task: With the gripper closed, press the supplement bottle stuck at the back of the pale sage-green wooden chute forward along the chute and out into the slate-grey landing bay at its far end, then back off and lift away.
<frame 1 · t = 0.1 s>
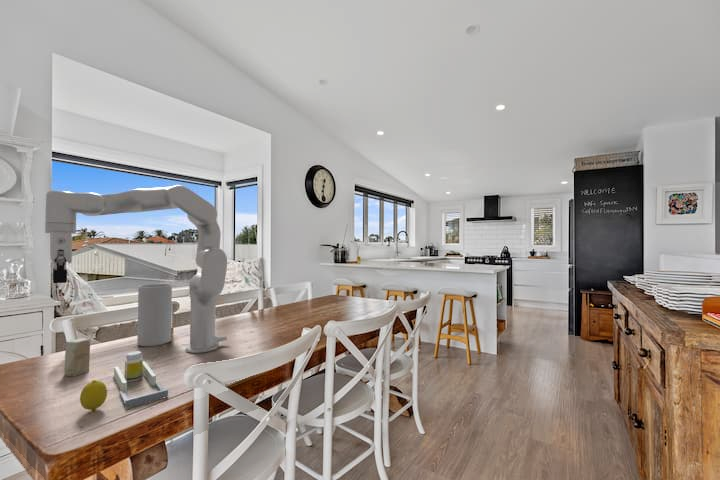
hand: (59, 281, 109), 31 cm above the table, tool pointing down, fingers open, 9 cm apart
chute: (134, 380, 107), on the table
cylinder vase: (154, 343, 147), on the table
supplement bottle: (133, 379, 108), on the table
landing bay: (143, 395, 97), on the table
box: (77, 373, 112), on the table
lemon: (93, 411, 88), on the table
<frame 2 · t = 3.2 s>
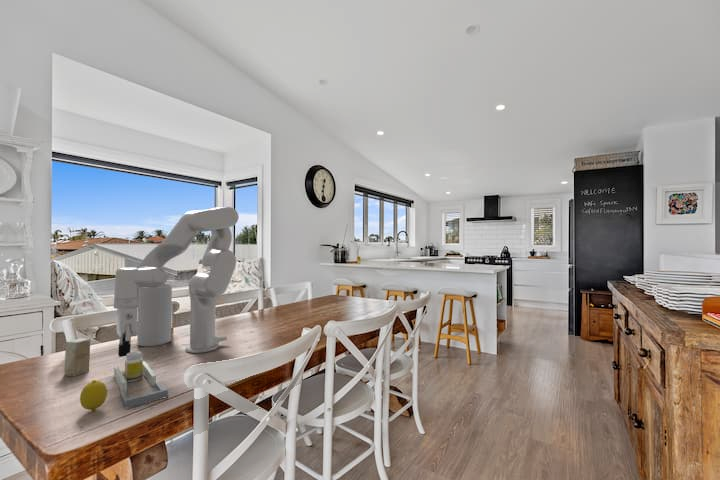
hand: (124, 355, 117), 5 cm above the table, tool pointing down, fingers closed
nothing on the table moved.
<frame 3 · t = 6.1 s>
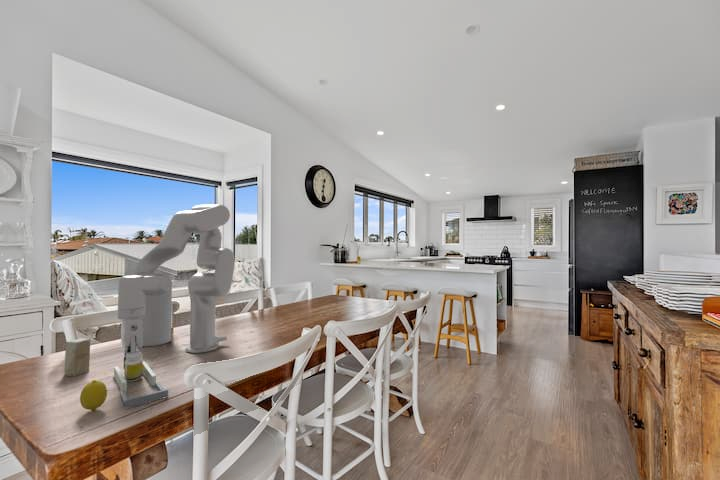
hand: (129, 368, 110), 2 cm above the table, tool pointing down, fingers closed
supplement bottle: (133, 378, 108), on the table, touching gripper
everything else where it was.
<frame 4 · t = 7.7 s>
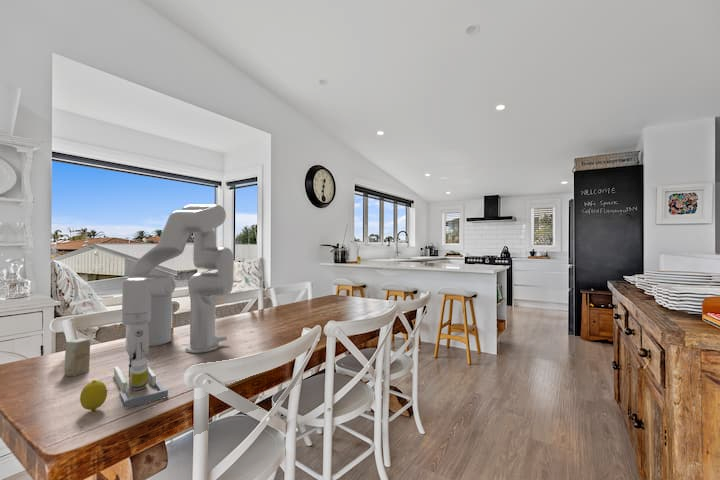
hand: (135, 376, 104), 2 cm above the table, tool pointing down, fingers closed
supplement bottle: (138, 385, 102), point 1 cm above the table, touching gripper
everything else where it was.
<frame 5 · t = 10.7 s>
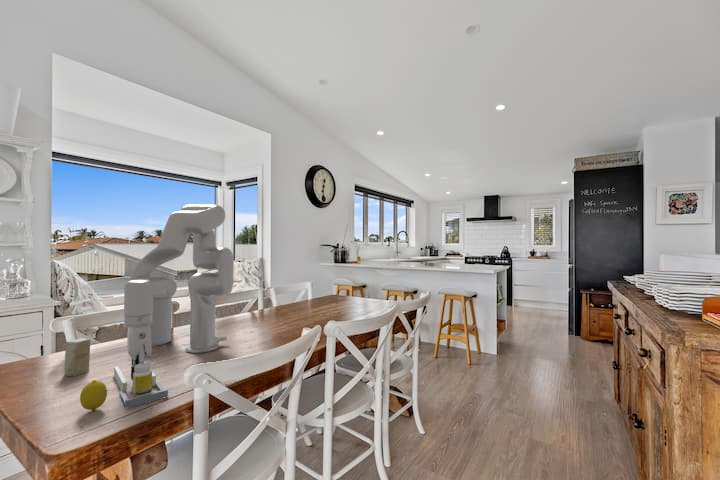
hand: (137, 378, 104), 2 cm above the table, tool pointing down, fingers closed
supplement bottle: (142, 394, 98), on the table
everything else where it was.
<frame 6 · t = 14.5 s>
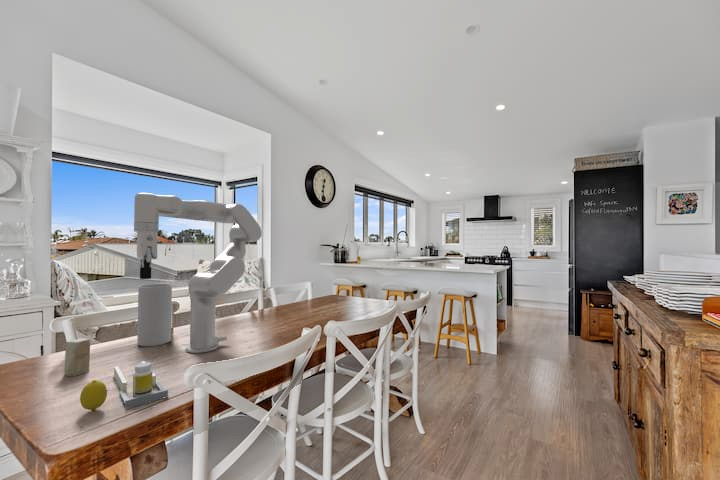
hand: (145, 278, 120), 31 cm above the table, tool pointing down, fingers closed
nothing on the table moved.
at the end: supplement bottle inside the target area (1.9 cm from its centre), on the table; supplement bottle tilted 1°; supplement bottle moved 13.8 cm from its start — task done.
